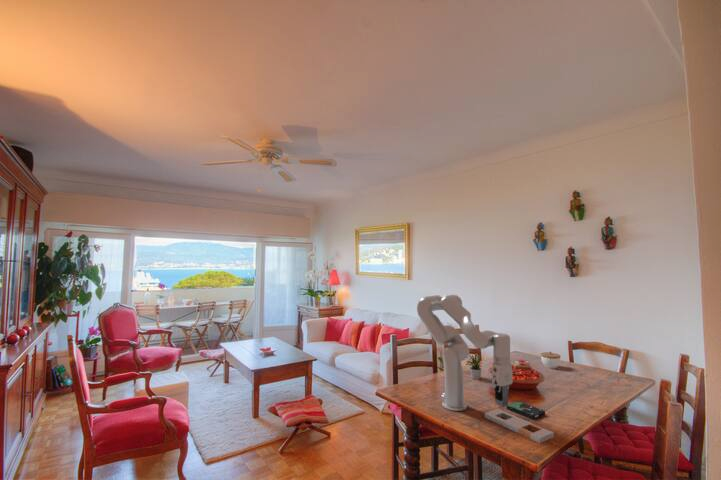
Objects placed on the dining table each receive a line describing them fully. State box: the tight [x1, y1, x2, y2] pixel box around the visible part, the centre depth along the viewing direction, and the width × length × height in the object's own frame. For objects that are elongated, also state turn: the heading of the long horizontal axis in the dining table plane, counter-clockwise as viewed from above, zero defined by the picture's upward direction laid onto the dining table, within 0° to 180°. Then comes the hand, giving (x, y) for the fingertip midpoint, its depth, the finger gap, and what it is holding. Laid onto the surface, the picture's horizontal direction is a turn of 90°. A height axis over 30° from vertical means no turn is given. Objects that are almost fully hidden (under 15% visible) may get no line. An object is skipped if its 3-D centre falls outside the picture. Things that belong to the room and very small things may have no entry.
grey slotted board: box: [484, 408, 555, 444], centre depth 156 cm, size 28×10×2 cm, turn 30°
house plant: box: [465, 352, 484, 380], centre depth 226 cm, size 14×14×16 cm
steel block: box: [494, 385, 509, 408], centre depth 164 cm, size 4×4×10 cm
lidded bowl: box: [540, 351, 561, 370], centre depth 248 cm, size 13×13×11 cm
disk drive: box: [505, 400, 546, 421], centre depth 172 cm, size 10×3×15 cm
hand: (501, 398), depth 164 cm, fingers closed on steel block, 4 cm apart
